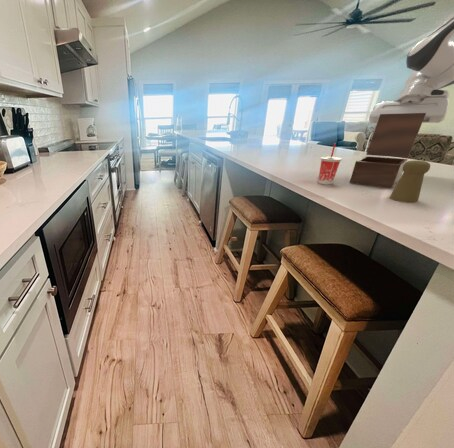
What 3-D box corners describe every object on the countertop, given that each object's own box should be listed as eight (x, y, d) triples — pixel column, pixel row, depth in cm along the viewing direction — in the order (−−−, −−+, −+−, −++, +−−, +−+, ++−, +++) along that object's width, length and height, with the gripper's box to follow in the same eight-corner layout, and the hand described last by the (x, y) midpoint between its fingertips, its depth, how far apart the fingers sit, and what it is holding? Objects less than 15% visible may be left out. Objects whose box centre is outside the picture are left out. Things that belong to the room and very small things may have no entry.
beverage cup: (331, 180, 91) (341, 142, 86) (337, 185, 86) (349, 144, 80) (313, 180, 93) (321, 142, 87) (318, 184, 88) (328, 144, 82)
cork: (399, 202, 68) (414, 163, 64) (384, 195, 74) (397, 159, 69) (424, 202, 67) (441, 162, 63) (407, 196, 73) (422, 159, 68)
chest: (391, 188, 80) (400, 164, 77) (349, 182, 88) (355, 161, 85) (399, 180, 88) (407, 159, 84) (359, 176, 96) (365, 156, 93)
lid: (426, 112, 79) (426, 113, 80) (380, 114, 88) (380, 114, 88) (408, 157, 84) (408, 157, 84) (366, 154, 92) (366, 154, 93)
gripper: (377, 95, 95) (362, 123, 93) (456, 90, 80) (440, 123, 79) (375, 108, 99) (362, 135, 97) (451, 105, 84) (436, 136, 83)
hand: (397, 130), depth 88 cm, fingers closed
